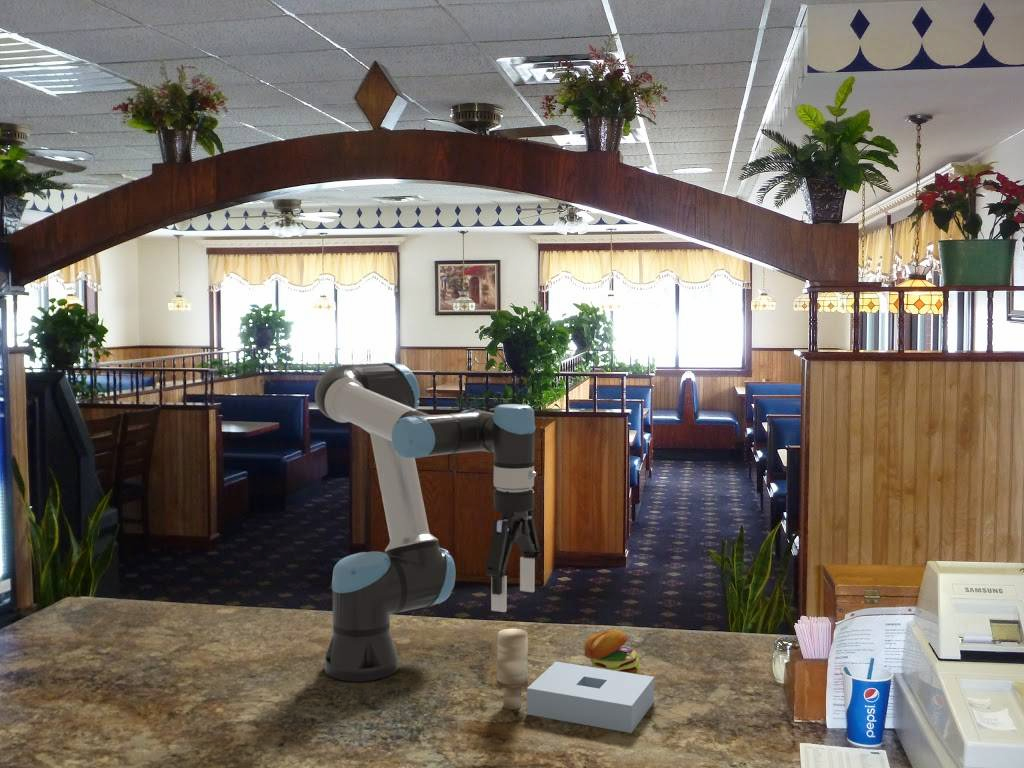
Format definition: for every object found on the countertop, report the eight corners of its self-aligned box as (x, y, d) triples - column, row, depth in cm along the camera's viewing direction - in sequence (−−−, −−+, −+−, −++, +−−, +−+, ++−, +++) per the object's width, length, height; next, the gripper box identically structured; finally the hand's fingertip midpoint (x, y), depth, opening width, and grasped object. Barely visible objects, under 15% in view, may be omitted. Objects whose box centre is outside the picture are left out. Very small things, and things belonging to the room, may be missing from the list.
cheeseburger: (640, 683, 201) (629, 635, 201) (588, 692, 203) (577, 644, 203) (644, 665, 211) (633, 619, 211) (594, 673, 213) (583, 627, 213)
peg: (491, 709, 189) (492, 636, 187) (504, 697, 194) (504, 626, 193) (520, 714, 186) (521, 640, 185) (532, 702, 192) (532, 630, 190)
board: (526, 714, 186) (527, 688, 186) (555, 686, 200) (555, 661, 200) (631, 733, 178) (631, 705, 178) (653, 702, 192) (654, 676, 192)
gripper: (506, 502, 174) (505, 622, 175) (556, 479, 197) (555, 585, 198) (466, 498, 177) (466, 617, 178) (521, 476, 200) (520, 581, 201)
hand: (513, 600), depth 188 cm, fingers open, 13 cm apart
